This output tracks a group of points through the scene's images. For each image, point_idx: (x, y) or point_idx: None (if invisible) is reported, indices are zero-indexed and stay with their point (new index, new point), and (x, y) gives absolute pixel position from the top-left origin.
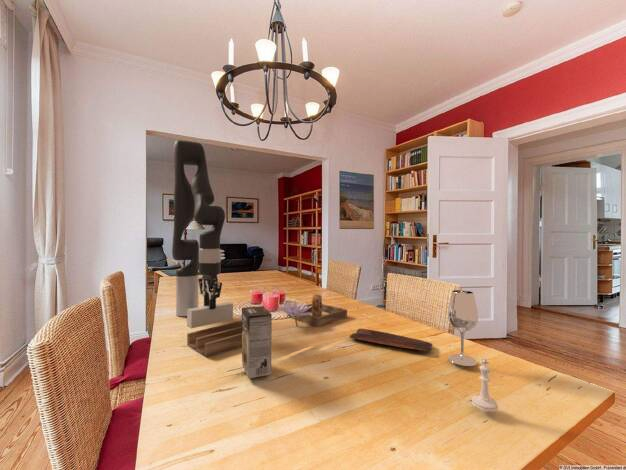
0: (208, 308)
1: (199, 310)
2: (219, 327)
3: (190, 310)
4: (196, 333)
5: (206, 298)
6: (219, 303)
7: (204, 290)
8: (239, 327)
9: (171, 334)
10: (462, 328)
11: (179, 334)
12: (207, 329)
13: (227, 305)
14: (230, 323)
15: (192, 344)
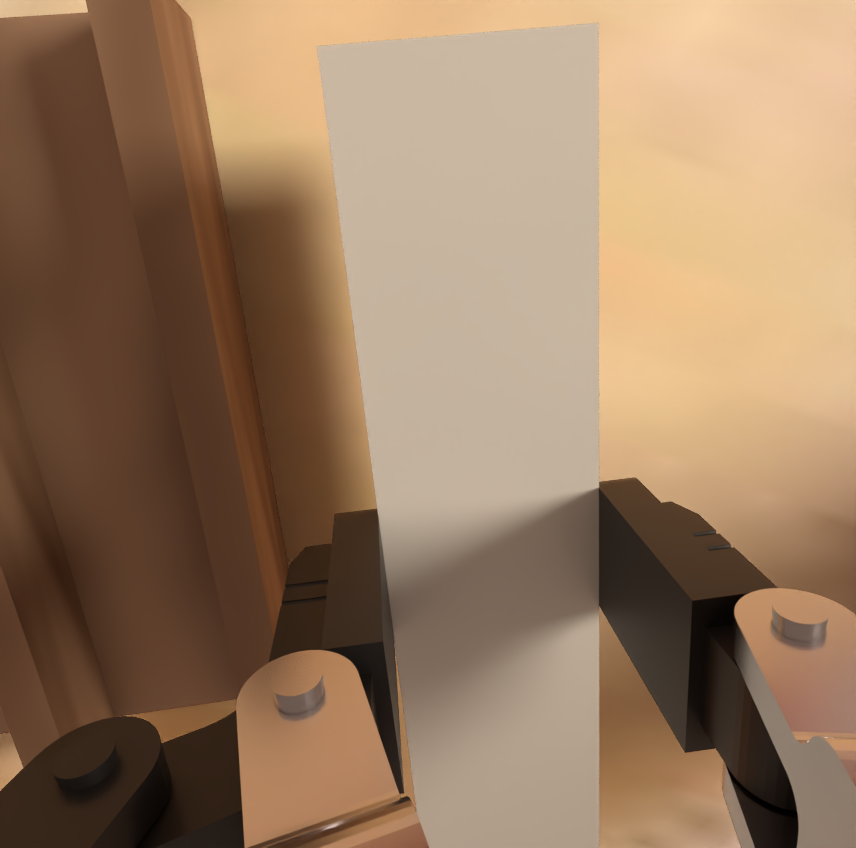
0: (376, 493)
1: (347, 276)
2: (195, 477)
3: (405, 47)
4: (115, 114)
5: (669, 626)
6: (587, 767)
7: (830, 791)
8: (9, 664)
9: (754, 2)
10: None
11: (677, 91)
12: (165, 305)
13: None
14: (252, 635)
15: (61, 37)
